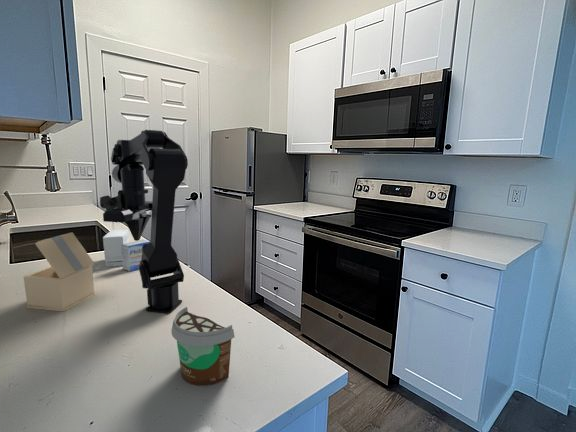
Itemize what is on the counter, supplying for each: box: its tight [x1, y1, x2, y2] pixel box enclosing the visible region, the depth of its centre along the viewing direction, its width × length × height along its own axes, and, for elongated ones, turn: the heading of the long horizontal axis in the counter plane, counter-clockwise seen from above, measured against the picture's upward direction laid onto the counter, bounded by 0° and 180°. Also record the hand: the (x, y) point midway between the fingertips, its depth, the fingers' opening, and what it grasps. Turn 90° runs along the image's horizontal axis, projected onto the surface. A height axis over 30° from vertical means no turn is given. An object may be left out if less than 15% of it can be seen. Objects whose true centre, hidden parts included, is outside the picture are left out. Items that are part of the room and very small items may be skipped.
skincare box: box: [102, 229, 131, 268], centre depth 113 cm, size 10×6×10 cm, turn 15°
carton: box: [23, 265, 95, 312], centre depth 82 cm, size 10×10×8 cm
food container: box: [170, 306, 235, 387], centre depth 55 cm, size 12×6×10 cm, turn 56°
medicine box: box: [121, 239, 150, 272], centre depth 108 cm, size 8×4×9 cm, turn 143°
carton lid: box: [34, 231, 95, 279], centre depth 80 cm, size 10×10×1 cm
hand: (136, 240), depth 93 cm, fingers closed
